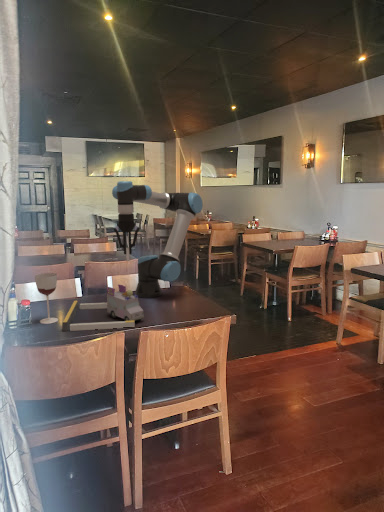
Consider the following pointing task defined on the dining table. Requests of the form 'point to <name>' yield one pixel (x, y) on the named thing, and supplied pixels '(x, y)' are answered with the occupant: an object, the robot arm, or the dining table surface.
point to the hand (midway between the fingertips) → (128, 260)
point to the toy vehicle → (123, 304)
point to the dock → (91, 326)
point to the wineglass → (46, 290)
